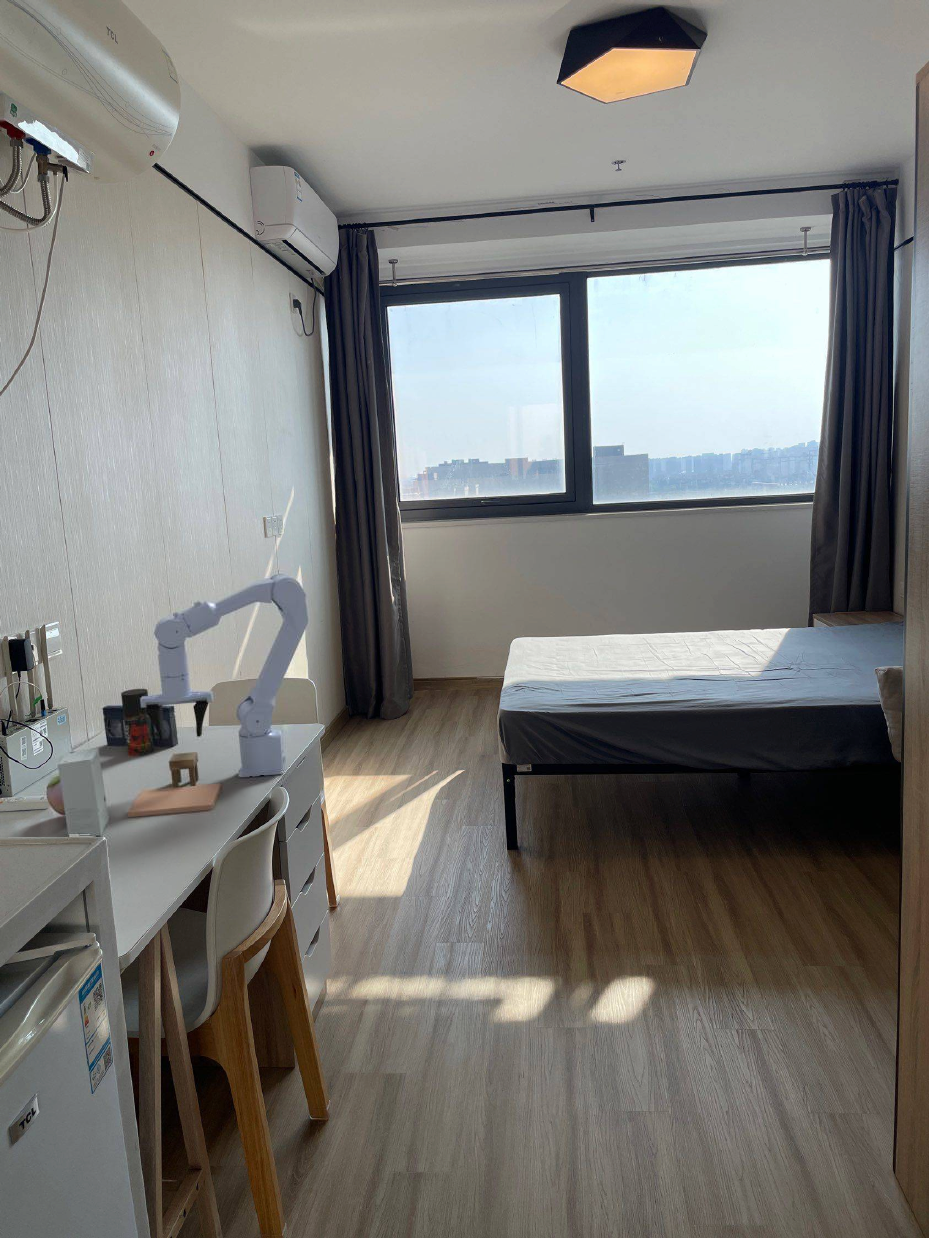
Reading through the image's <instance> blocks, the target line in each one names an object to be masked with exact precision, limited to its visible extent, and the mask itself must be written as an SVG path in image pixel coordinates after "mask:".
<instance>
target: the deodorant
mask: <svg viewBox="0 0 929 1238" xmlns="http://www.w3.org/2000/svg"><path fill="white" fill-rule="evenodd" d="M120 695H121V697H120V698H121V705H122V706H123V714H124V723H125V732H126V740H127V746H126V747H127V754H128V756H130V757H139V756H141V757H142V756H145V755H149V754H152V753H153V752H154V751H155V747H154V745H153V736H152V727H151V719H150V718H149V716H148V715H147V713H146V710H147V709H146V708H147V707H143V708H141V702H140V699H141V698H142V697H143V696H149V692H148V689H146V688H133V689H128V690H124V691H122V692H120Z"/></svg>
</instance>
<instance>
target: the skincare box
mask: <svg viewBox="0 0 929 1238" xmlns="http://www.w3.org/2000/svg"><path fill="white" fill-rule="evenodd" d="M57 768H58V776H60V783H61V790H62V796H63V803H64V810H65V816H64V817H65V821H66V828H67V834H68V833H69V834H90V835H79V836H100V837H102V836H103V832H104V829H105V828H106V826H107V825H108V823H109V819H110V818H109V813H108V805H107V798H106V791H105V785H104V778H103V771H102V765H101V758H100V750H99V748H90V749H82V750H76V751H68V752H67V753H66V755H65V756H63V757H62V758H61V761H59V763H58V764H57ZM101 834H102V835H101Z"/></svg>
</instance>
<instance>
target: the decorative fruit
mask: <svg viewBox="0 0 929 1238" xmlns="http://www.w3.org/2000/svg"><path fill="white" fill-rule="evenodd" d="M45 795H46V800H47V802H48V804H49V806H50V807H51V808H52V810H53V811H54V812H55V813H57V814H59V815H62V816H64V817H66V816H65V810H64V803H63V796H62V790H61V783H60V776H59V775H57V776H55V777H54V778H52V779H51V780H50V781H49V783H48V784H47V786H46V793H45Z"/></svg>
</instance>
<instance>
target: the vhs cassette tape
mask: <svg viewBox="0 0 929 1238" xmlns="http://www.w3.org/2000/svg"><path fill="white" fill-rule="evenodd" d="M162 709H163V724H164V730H165V738H164V739H163V740H160V739H159V735H158V732H157V730H156V728H155V726H154V724H153V722H152V721H151V727H152V736H153V745H154V748H158V747H159V748H160V747H162V748H173V747H175V746H177V745H178V743H179V739H178V731H177V721H176V720H177V719H176V715H175V713H176V712H175V706H174V705H162ZM102 714H103V722H104V730H105V732H104V733H105V738H106V745H107V746H109V747H127V740H126V732H125V723H124V714H123V706H122V704H121V705H105V706H104V707H102Z"/></svg>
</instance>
